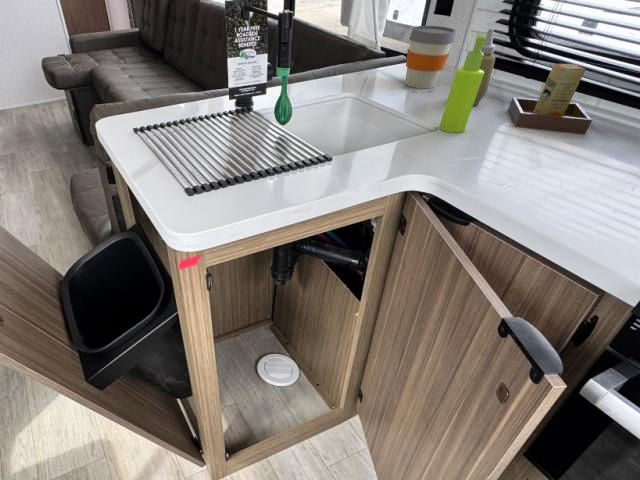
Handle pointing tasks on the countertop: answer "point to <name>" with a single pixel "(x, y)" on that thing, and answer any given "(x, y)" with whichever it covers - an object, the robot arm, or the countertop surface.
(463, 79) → the soap dispenser
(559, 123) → the tray
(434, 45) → the reusable coffee cup
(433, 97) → the countertop surface
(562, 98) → the shoe polish box
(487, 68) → the squeeze bottle
